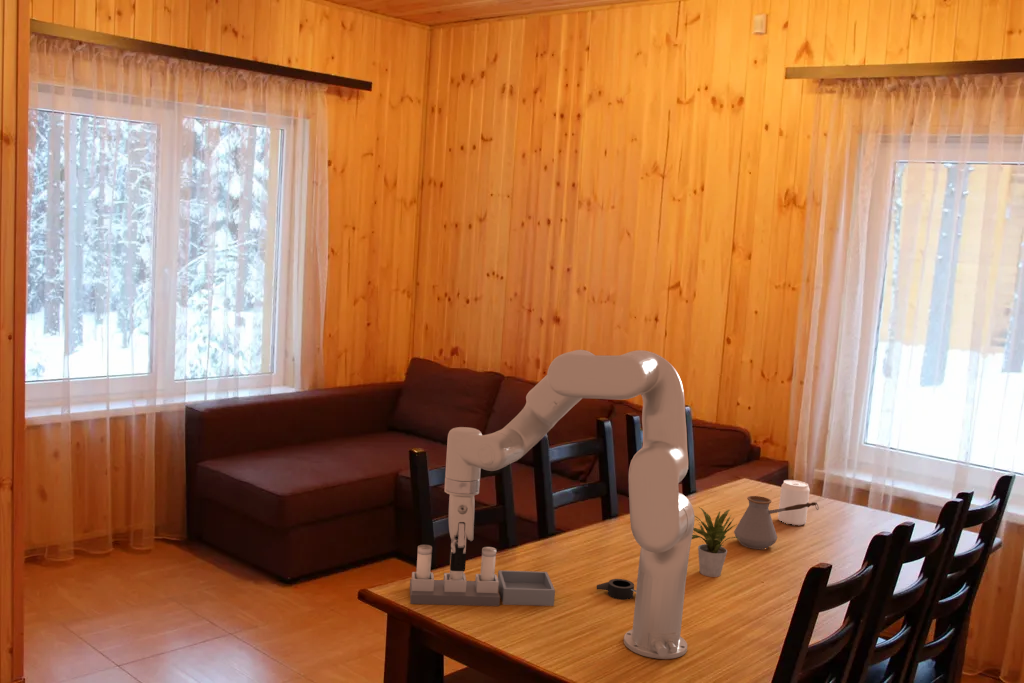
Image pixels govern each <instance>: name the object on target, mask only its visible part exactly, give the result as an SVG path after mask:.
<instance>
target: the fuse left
mask: <svg viewBox="0 0 1024 683" xmlns="http://www.w3.org/2000/svg"><path fill="white" fill-rule="evenodd" d="M432 553H433V546H432V545H430V544H420V545H418V546H417V558H416V559H417V560H416V571H415V572H416V579H430V572H431V567H432V555H433V554H432Z"/></svg>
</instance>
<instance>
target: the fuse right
mask: <svg viewBox="0 0 1024 683" xmlns="http://www.w3.org/2000/svg"><path fill="white" fill-rule="evenodd" d="M496 556H497V548H495V547H492V546H484V547H482V548H481V561H480V562H481V563H480V574H481V575H480V581H494V574H495V572H496V571H495V570H496V559H497V558H496Z"/></svg>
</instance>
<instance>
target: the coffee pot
mask: <svg viewBox="0 0 1024 683" xmlns="http://www.w3.org/2000/svg"><path fill="white" fill-rule="evenodd" d="M746 498H747V500H748V507H747V508H746V510H745V511H744V514H743V515H742V517H741V519H740V520H739V522H738V524H737V525H736V527H735V529H734V530H733V533H734V537H738V538H739V539H738V538H736V539H737V541H739V543H740V545H742V546H743V547H746V548H749V549H754V550H766V549H765V548H767V549H769V548H770V547H771V546H774V544H775V543H776V542H777V539H778V535H777V532H776V528H775V525H774V523H773V519H772V516H771V514H778V512H781V511H788V510H796V509H801V508H804V507H808V508H810V507H815V509H816V511H819V504H818V502H817V501H816V502H810V503H809V502H808V503H807V504H798V505H794V506H790V507H786V508H781V509H779V508H776V509H769V506H770V505H771V503H773V502H772V499H770V498H768V497H765V496H759V495H749V496H747V497H746ZM768 547H769V548H768Z"/></svg>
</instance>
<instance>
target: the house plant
mask: <svg viewBox="0 0 1024 683" xmlns="http://www.w3.org/2000/svg"><path fill="white" fill-rule="evenodd" d="M698 508H699V509H700V510H701V511H702V513H703V516H704V519H705V522H706V523H705V522H704V521H702V520H701V519H700V518H699V517H698V516H696V515H694V520H697V522H698V526H699V528H696V527H694V529H693V534H692V540H695V539H698V538H699V539H701V542H702V543H703V544H700V545H698V546H697V551H698V567H699V574H701V575H703V576H705V577H710V578H716V577H720V576H721V575H722V571H723V568H724V564H725V561H726V556H727V553H728V549H726V548H725V547H723V546H724V544H723V543H725V542H726V541H728V540H729V539H734V538H735V539H737V538H738V537H735V536H732V537H729V538H727V539H725V538H726V536H727V535H726V534H727V533H728V532H729V531H730V530H732V528H734V527H735V526H737V525H738V524H737V523H736V524H734V525H732V526H731V524H732V523H733V521H734V519H735V518H732V519H731V517H732V514H730V515H729V517H728V518H727V520H726V517H727V516H728V514H729V512H730V511H731V509H728V510H725V511H724V513H722V514H721V511H719V512H718V513H717V516H716V517H715V519H714V523H713V521H712V517H711V515H710V514H709V513H707V512H706V511H705V510H704V509H703V508H702V507H699V506H698ZM730 519H731V521H730ZM725 520H726V521H725ZM724 522H725V523H724ZM723 524H724V525H723ZM730 526H731V527H730ZM695 533H696V534H695ZM697 534H699V535H697ZM702 536H703V537H704V538H703V537H702ZM738 539H739V538H738ZM703 541H704V542H705V543H704V542H703Z"/></svg>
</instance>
